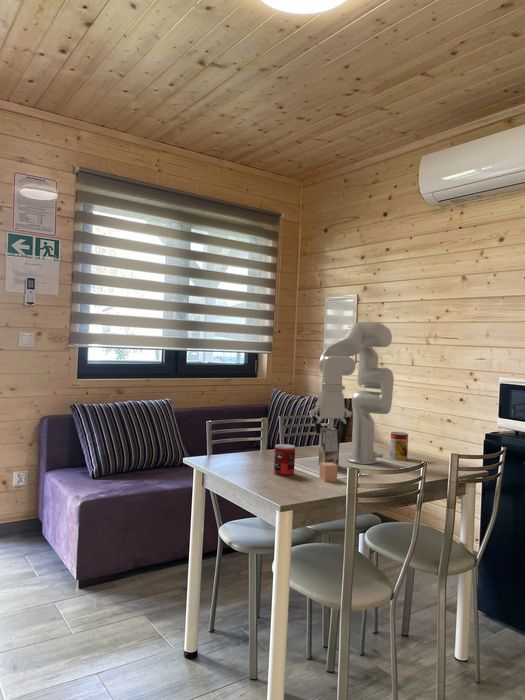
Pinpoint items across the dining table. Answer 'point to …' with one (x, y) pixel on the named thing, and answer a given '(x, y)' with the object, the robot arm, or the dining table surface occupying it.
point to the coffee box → (329, 446)
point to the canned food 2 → (399, 446)
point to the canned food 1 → (284, 459)
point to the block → (328, 471)
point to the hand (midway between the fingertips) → (329, 433)
